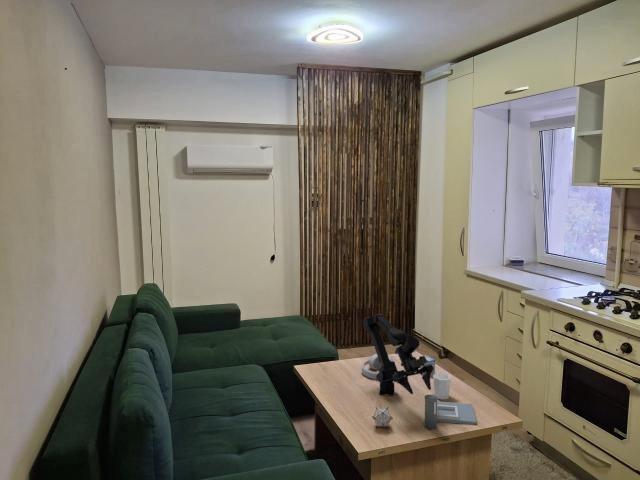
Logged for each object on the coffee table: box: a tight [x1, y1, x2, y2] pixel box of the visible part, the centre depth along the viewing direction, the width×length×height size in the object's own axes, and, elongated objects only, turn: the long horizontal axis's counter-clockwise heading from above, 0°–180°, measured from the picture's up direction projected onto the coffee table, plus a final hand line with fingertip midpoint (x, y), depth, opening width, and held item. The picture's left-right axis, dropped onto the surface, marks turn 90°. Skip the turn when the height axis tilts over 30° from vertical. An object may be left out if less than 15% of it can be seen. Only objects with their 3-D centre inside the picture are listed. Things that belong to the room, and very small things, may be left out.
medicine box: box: [419, 354, 436, 377], centre depth 250 cm, size 8×4×9 cm, turn 25°
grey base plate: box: [437, 400, 478, 425], centre depth 207 cm, size 18×16×3 cm
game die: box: [371, 406, 394, 429], centre depth 197 cm, size 9×8×10 cm
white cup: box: [432, 372, 451, 400], centre depth 223 cm, size 8×8×10 cm
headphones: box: [361, 353, 396, 381], centre depth 252 cm, size 18×8×20 cm
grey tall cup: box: [424, 394, 439, 431], centre depth 196 cm, size 5×5×13 cm
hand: (421, 391), depth 201 cm, fingers open, 9 cm apart
